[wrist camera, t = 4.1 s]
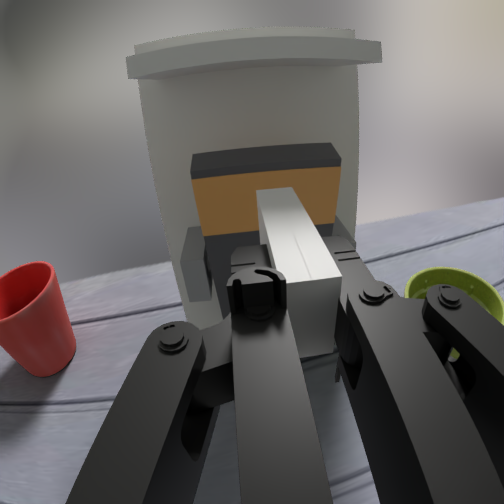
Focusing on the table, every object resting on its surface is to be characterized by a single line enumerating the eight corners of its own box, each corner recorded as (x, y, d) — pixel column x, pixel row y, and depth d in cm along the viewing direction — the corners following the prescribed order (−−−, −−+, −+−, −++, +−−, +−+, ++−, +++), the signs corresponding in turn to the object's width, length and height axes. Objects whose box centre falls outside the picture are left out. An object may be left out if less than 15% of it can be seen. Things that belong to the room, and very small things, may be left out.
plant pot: (458, 421, 19) (503, 356, 15) (368, 385, 25) (389, 315, 21) (477, 351, 25) (507, 284, 21) (402, 324, 31) (420, 256, 26)
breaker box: (330, 291, 37) (330, 39, 23) (365, 376, 26) (401, 15, 12) (197, 306, 37) (152, 52, 23) (189, 398, 25) (95, 32, 11)
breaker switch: (315, 303, 29) (335, 141, 17) (320, 322, 27) (347, 158, 16) (222, 314, 29) (187, 154, 17) (223, 333, 27) (184, 172, 16)
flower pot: (3, 380, 26) (-40, 318, 21) (39, 322, 35) (9, 262, 30) (66, 395, 25) (18, 325, 20) (99, 325, 35) (70, 257, 30)
